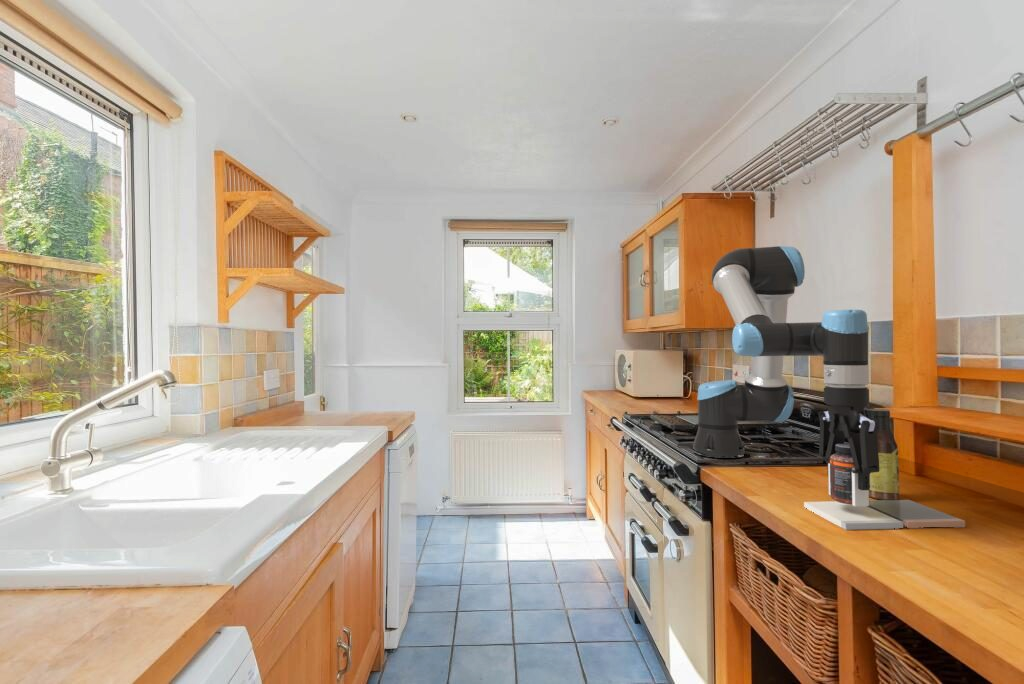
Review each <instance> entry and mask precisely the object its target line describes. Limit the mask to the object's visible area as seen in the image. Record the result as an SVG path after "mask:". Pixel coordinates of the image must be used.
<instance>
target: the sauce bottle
mask: <svg viewBox="0 0 1024 684" xmlns="http://www.w3.org/2000/svg"><path fill="white" fill-rule="evenodd" d="M890 412H891V411H890V410H889V409H884V408H883V409H882V408H869V409H867V417H868V419H870V420H877V421H878V422H879V426H878V431H877V440H878V455H879V469H880V470H879V472H873V473H870V489H869V497H870V498H872V499H875V500H900V493H901V487H900V485H901V484H900V468H899V467H900V466H899V465H900V463H899V446H898V444H897V442H896V439H895V437H894V435H893V432H892V430H891V427H890V426H891V425H890V417H891V413H890Z"/></svg>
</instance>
